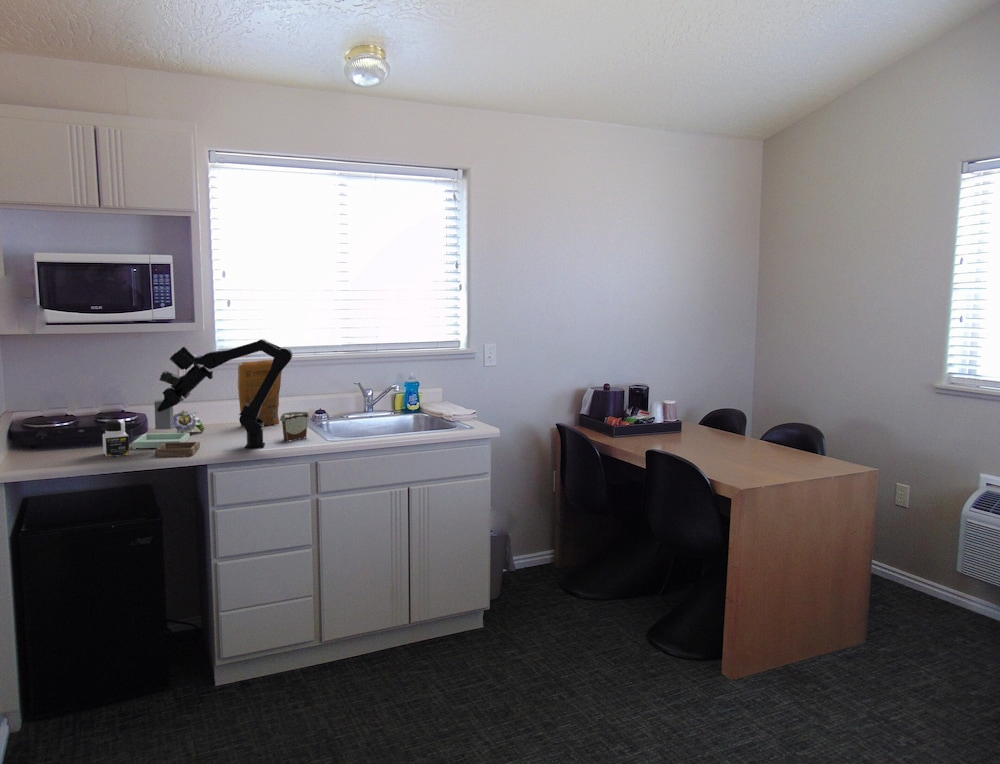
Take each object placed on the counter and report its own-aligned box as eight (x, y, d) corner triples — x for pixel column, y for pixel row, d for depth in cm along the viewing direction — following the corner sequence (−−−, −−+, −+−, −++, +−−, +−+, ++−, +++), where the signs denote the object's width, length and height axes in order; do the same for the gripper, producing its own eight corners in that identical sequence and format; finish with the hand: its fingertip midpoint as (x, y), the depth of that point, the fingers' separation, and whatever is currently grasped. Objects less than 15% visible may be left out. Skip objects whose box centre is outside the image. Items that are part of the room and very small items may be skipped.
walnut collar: (164, 449, 263) (164, 442, 263) (199, 448, 265) (199, 441, 265) (155, 456, 251) (155, 449, 251) (192, 455, 254) (192, 448, 253)
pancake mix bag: (285, 425, 314) (284, 360, 310) (240, 428, 303) (238, 361, 300) (281, 422, 319) (279, 358, 316) (236, 426, 309) (234, 360, 306)
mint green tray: (144, 440, 278) (144, 433, 277) (189, 439, 281) (189, 432, 281) (132, 449, 262) (132, 442, 262) (180, 448, 265) (179, 441, 265)
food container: (298, 435, 292) (298, 410, 291) (309, 437, 289) (308, 412, 288) (273, 440, 282) (273, 414, 281) (284, 442, 279) (283, 416, 277)
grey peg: (158, 426, 265) (157, 399, 264) (173, 426, 266) (172, 399, 265) (155, 429, 260) (154, 401, 259) (170, 429, 261) (169, 401, 260)
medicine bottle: (106, 457, 249) (104, 423, 247) (103, 453, 255) (101, 419, 253) (129, 455, 253) (128, 421, 252) (126, 451, 259) (124, 418, 257)
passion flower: (185, 449, 289) (166, 427, 283) (182, 439, 298) (163, 417, 292) (210, 431, 292) (191, 409, 285) (206, 422, 301) (187, 400, 294)
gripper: (179, 360, 270) (148, 390, 269) (168, 366, 252) (134, 398, 251) (203, 381, 273) (172, 411, 272) (193, 388, 255) (160, 420, 254)
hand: (159, 409), depth 262 cm, fingers closed on grey peg, 5 cm apart
